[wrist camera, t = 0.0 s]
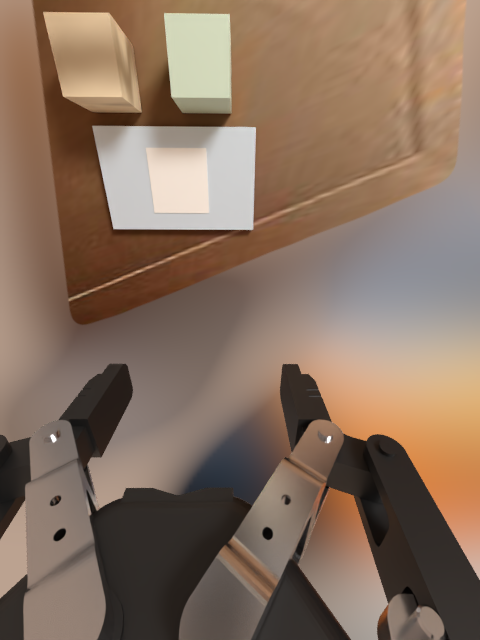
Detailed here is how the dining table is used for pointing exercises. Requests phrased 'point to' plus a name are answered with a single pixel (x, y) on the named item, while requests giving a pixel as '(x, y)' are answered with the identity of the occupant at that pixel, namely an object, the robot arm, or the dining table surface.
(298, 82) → the dining table surface
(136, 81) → the maple block
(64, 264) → the dining table surface
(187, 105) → the sage block
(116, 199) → the white rectangular board
